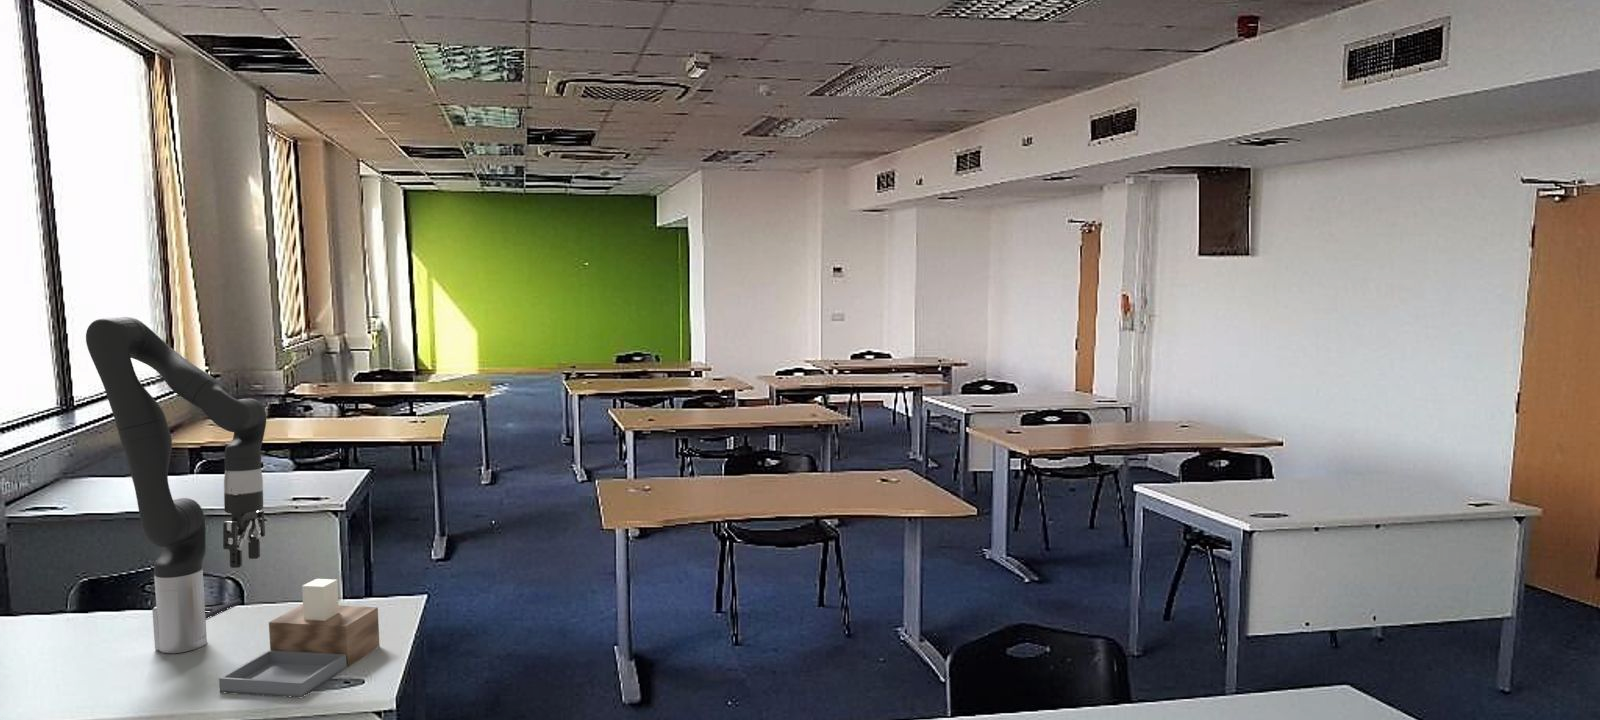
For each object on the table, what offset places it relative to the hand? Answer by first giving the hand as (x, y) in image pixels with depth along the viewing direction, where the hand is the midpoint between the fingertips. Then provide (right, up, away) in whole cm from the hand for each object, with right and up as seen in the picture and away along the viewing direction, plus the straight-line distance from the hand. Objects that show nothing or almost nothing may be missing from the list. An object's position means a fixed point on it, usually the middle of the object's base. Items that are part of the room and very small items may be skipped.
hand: (245, 562), depth 223 cm
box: (+16, -21, -14) cm, 30 cm away
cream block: (+18, -11, -3) cm, 21 cm away
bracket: (-28, -18, +28) cm, 44 cm away
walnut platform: (+18, -20, -1) cm, 27 cm away
